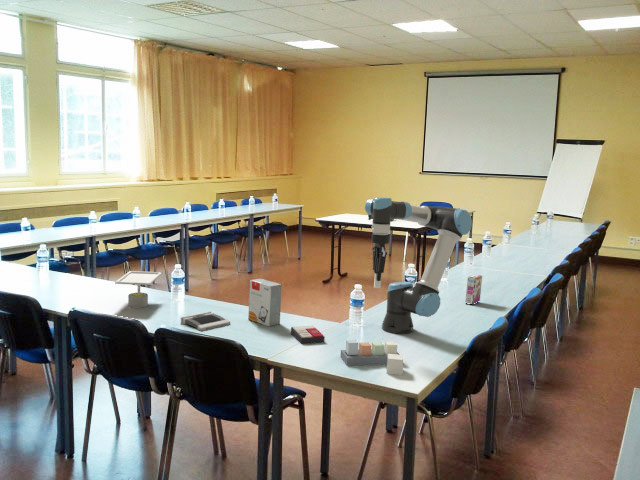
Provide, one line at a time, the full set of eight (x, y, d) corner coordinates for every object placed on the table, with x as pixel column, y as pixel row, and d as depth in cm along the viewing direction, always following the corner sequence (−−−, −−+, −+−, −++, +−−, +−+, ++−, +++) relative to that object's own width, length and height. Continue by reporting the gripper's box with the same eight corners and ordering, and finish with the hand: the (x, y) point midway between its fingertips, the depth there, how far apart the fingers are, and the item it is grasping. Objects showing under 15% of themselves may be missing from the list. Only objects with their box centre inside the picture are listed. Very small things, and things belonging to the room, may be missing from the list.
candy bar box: (473, 305, 348) (475, 277, 346) (464, 304, 351) (467, 276, 349) (480, 302, 357) (482, 275, 355) (472, 301, 360) (474, 274, 358)
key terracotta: (367, 354, 248) (368, 342, 247) (370, 357, 244) (371, 345, 243) (358, 354, 247) (359, 342, 246) (361, 357, 243) (361, 345, 242)
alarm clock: (209, 311, 298) (231, 316, 287) (210, 320, 298) (231, 325, 287) (180, 317, 285) (201, 322, 274) (180, 326, 285) (201, 332, 275)
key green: (380, 353, 249) (381, 342, 248) (383, 357, 245) (384, 345, 244) (371, 354, 248) (372, 342, 247) (374, 357, 244) (374, 345, 244)
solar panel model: (149, 312, 301) (149, 283, 298) (114, 311, 300) (114, 281, 298) (161, 299, 328) (161, 272, 326) (129, 298, 327) (129, 270, 325)
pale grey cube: (402, 375, 232) (403, 360, 231) (386, 373, 233) (387, 358, 232) (402, 369, 238) (403, 354, 237) (386, 368, 238) (387, 353, 238)
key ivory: (393, 353, 250) (394, 341, 249) (396, 356, 246) (397, 345, 246) (384, 353, 249) (384, 342, 249) (387, 357, 245) (387, 345, 245)
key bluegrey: (355, 351, 246) (355, 339, 246) (357, 354, 243) (358, 342, 242) (345, 351, 246) (346, 339, 245) (348, 355, 242) (348, 343, 241)
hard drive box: (247, 319, 297) (248, 280, 294) (259, 317, 302) (260, 278, 299) (268, 326, 286) (270, 285, 284) (280, 324, 292) (282, 283, 289)
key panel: (393, 355, 254) (393, 348, 253) (401, 363, 244) (402, 356, 244) (340, 356, 249) (340, 349, 248) (346, 365, 239) (347, 358, 239)
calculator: (301, 336, 262) (290, 325, 276) (301, 346, 263) (290, 334, 277) (325, 335, 266) (313, 324, 280) (324, 344, 267) (312, 332, 281)
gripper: (367, 231, 263) (364, 284, 266) (376, 235, 250) (373, 291, 253) (384, 231, 264) (380, 284, 267) (394, 235, 252) (390, 291, 255)
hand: (377, 287), depth 260 cm, fingers closed
